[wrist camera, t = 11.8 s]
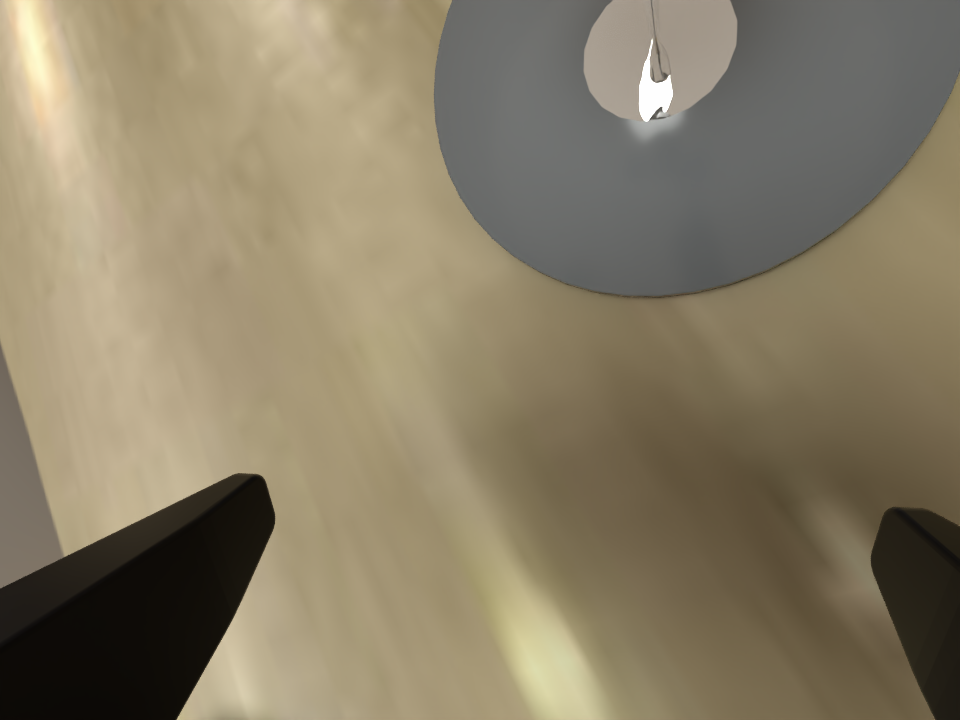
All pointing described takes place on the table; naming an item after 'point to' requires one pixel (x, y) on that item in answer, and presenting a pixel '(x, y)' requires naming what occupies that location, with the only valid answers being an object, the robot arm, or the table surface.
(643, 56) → the wineglass
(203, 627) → the robot arm
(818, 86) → the slate plate
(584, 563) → the table surface
